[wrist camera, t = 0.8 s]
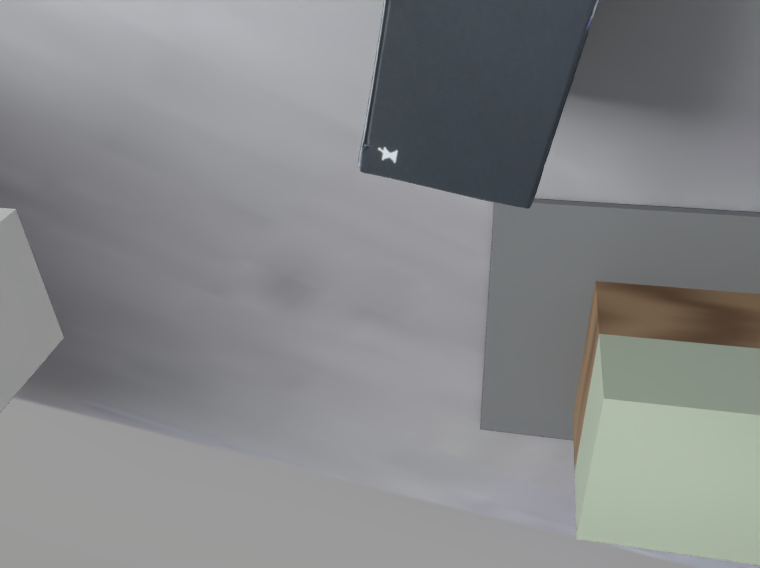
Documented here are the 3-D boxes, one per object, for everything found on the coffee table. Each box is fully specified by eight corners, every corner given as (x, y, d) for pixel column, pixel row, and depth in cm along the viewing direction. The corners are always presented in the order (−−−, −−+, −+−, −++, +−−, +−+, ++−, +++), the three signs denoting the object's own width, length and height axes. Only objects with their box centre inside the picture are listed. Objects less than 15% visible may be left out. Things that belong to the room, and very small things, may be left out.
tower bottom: (573, 414, 40) (574, 471, 37) (595, 280, 35) (599, 333, 32) (749, 434, 38) (766, 495, 35) (799, 297, 33) (825, 354, 30)
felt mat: (480, 424, 42) (480, 429, 42) (494, 196, 34) (494, 200, 33) (757, 456, 40) (759, 462, 39) (851, 218, 31) (853, 223, 31)
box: (538, 89, 30) (530, 217, 22) (406, 59, 31) (349, 173, 22) (602, -120, 26) (623, -59, 17) (446, -153, 26) (392, -110, 18)
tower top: (574, 471, 37) (576, 539, 34) (599, 333, 32) (603, 398, 28) (766, 495, 35) (787, 569, 32) (825, 354, 30) (857, 426, 27)
